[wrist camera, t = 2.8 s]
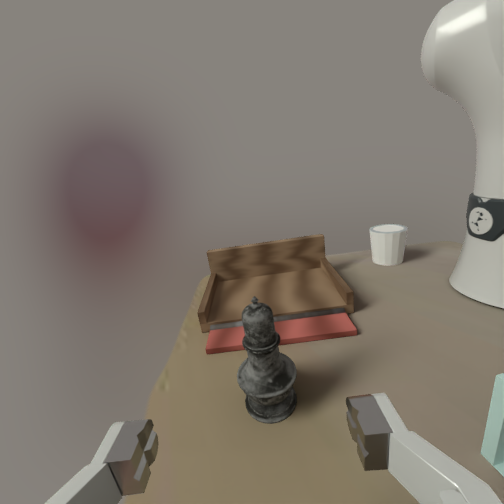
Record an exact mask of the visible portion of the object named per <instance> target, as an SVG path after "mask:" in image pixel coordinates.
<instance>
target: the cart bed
mask: <svg viewBox="0 0 504 504" xmlns="http://www.w3.org/2000/svg"><path fill="white" fill-rule="evenodd" d="M207 256H208V261H209V266H210V270H211V276H210V279H209V281H208V284H207V287H206V290H205V293H204V296H203V298H202V301H201V304H200V307H199V310H198V317H199V321H200V325H201V329H202V333H204V332H210V333H209V337H208V341H207V346H206V353H207V354H213V353H221V352H229V351H237V350H245V349H244V347H243V345H242V340H243V338H244V336H245V333H244V328H243V322H242V311H243V310H244V308H245V307H246V306H248V305H249V304H252V303H253V302H251V300H252V298H253V296H255V297H256V298H257V299H259V300H258V302H260V303H265V304H267V305H268V306H269V307H270V308H271V309H272V312H273V318H274V325H275V331H276V332H278V334H279V335H280V338H281V339H280V343H279V345H284V344H291V343H299V342H307V341H315V340H323V339H330V338H338V337H346V336H354V335H357V329H356V328H355V326H354V325H353V323H352V322H351V320H350V319H349V317H348V315H347V314H348V313H354V298H353V291H352V290H351V288H350V287H349V286H348V285H347V284H346V282H345V281H344V280H343V279H342V277H341V276H340V275H339V274H338V273H337V271H336V270H335V269H334V268H333V266H332V265H331V264H330V263H329V262H328V260H327V259H326V258H325V245H324V235H322V234H319V235H312V236H304V237H298V238H291V239H284V240H277V241H270V242H263V243H256V244H249V245H243V246H235V247H229V248H221V249H214V250H208V251H207Z"/></svg>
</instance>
